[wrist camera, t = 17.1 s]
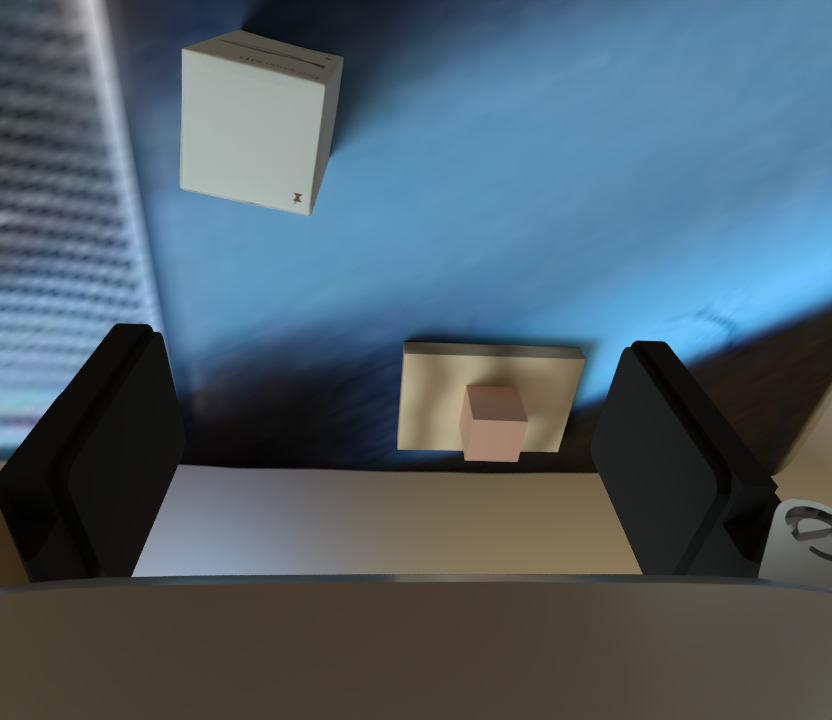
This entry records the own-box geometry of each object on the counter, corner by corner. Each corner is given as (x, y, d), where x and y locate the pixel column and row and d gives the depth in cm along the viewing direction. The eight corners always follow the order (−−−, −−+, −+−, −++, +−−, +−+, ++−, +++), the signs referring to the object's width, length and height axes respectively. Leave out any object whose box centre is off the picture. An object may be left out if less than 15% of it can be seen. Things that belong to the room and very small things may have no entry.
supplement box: (346, 54, 38) (332, 84, 28) (329, 162, 42) (311, 222, 32) (236, 24, 37) (178, 43, 26) (229, 138, 41) (177, 193, 30)
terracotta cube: (517, 387, 53) (528, 421, 49) (507, 426, 56) (517, 461, 52) (466, 385, 52) (473, 419, 48) (459, 424, 55) (465, 460, 51)
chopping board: (397, 436, 58) (397, 449, 57) (403, 341, 52) (404, 353, 50) (552, 438, 60) (557, 451, 58) (579, 347, 53) (585, 359, 51)
